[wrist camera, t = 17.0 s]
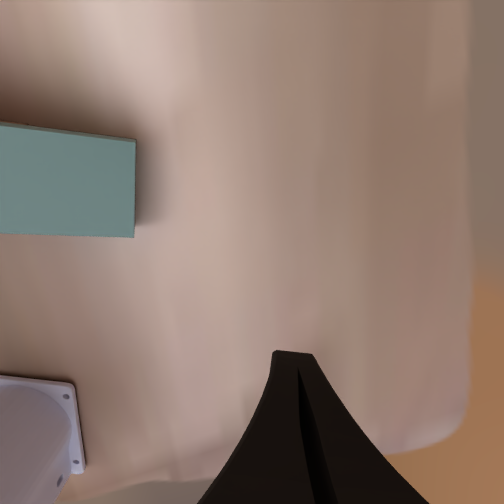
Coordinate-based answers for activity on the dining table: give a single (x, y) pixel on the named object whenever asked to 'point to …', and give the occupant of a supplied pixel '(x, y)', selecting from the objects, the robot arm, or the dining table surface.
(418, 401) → the dining table surface
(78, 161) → the domino
